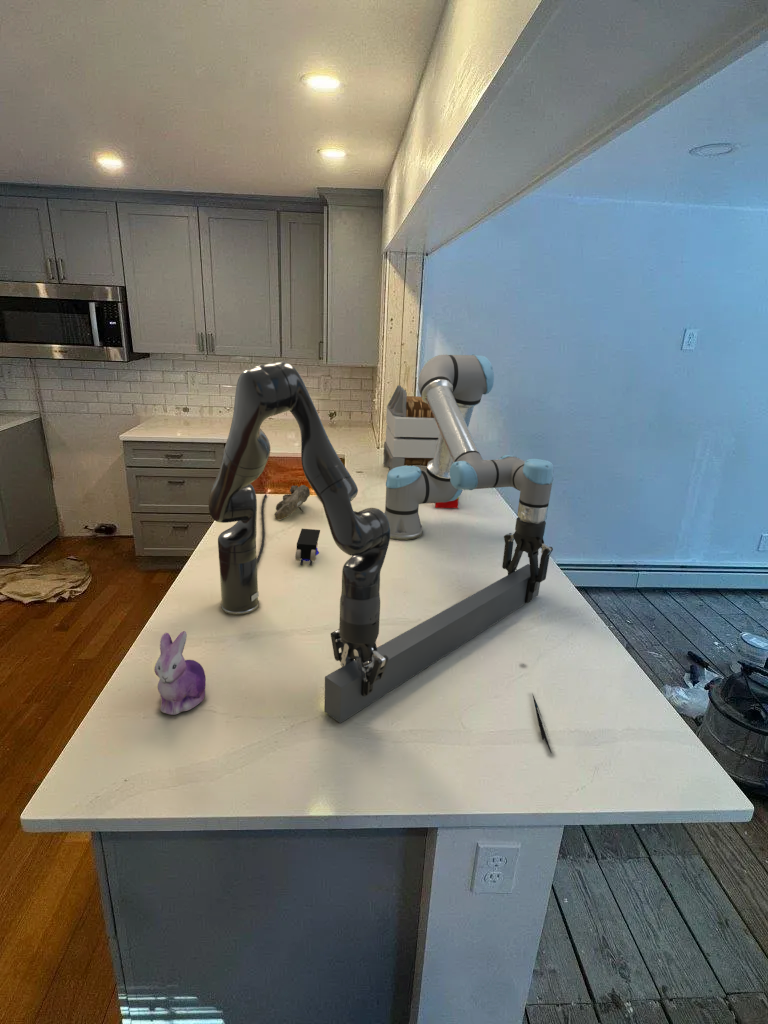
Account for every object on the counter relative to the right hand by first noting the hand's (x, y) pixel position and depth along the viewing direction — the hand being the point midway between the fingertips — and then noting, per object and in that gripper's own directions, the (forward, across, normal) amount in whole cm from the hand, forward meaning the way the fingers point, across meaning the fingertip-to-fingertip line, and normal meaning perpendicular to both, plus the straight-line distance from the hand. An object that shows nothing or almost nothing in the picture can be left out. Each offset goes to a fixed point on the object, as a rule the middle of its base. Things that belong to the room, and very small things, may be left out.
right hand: (519, 597), depth 156 cm
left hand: (-3, 0, -62) cm, 62 cm away
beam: (+1, 0, -31) cm, 31 cm away
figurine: (+1, -24, -86) cm, 90 cm away
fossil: (+2, -97, -2) cm, 97 cm away
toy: (+2, -71, +56) cm, 90 cm away
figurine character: (+2, -60, -26) cm, 65 cm away
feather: (+1, +25, -36) cm, 44 cm away
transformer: (+3, -101, +78) cm, 128 cm away
